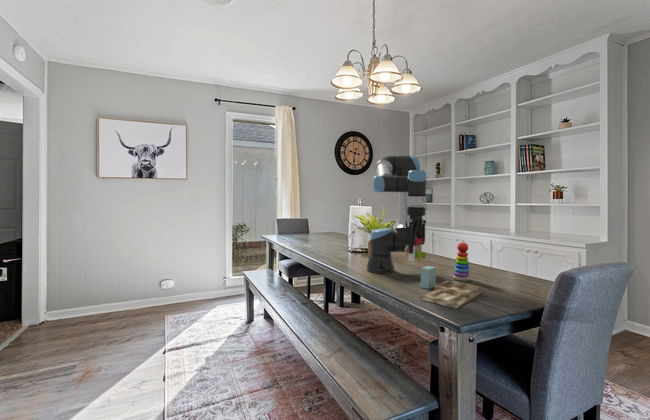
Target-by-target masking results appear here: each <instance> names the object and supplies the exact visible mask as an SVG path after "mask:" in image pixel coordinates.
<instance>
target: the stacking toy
mask: <svg viewBox="0 0 650 420" xmlns="http://www.w3.org/2000/svg"><path fill="white" fill-rule="evenodd" d="M456 247H457V250H458V251H457V256H456V260H455V265H454V271H453V276H452V278H453V279H454V280H456V281H459V282H467V281H468V282H469V281H470V280H471V276H470V265H469V263H470V262H469V257H468V255H469V253H468V252H467V251H469V245H468V244H467V243H466V242H459V243H458V245H457V246H456Z"/></svg>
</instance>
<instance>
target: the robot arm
mask: <svg viewBox="0 0 650 420" xmlns="http://www.w3.org/2000/svg"><path fill="white" fill-rule="evenodd" d="M374 173H375V174H376V175H375V176H373V191H374V192H375V193H398V225H397V226H396V227H395V230H393V229H392V228H391V227H388V228H387V227H384V228H383V227H382V228H378V229H377V228H376V229H373V230H372V231H371V232H370V239H369V240H370V249H369V251H370V253H369V259H368V260H367V261H368V262H367V265H366V271H368V272H370V273H374V274H391V273H394V272H395V264H394V261H393V258H392V253H405V247H406V246H407V245H408V246H409V256H408V257H407V260H408V262H416V259H418V258H416V259H415V249H416V248H415V246H414V243H415V236H416V237H417V238H418V239H423V241H422V245H419V244H418V245H419V247H420V253H421V252H423V245H425V242H426V223H427V220H426V219H423V217H424V216H426V201H427V198H426V196H427V192H426V191H427V190H426V189H427V172H426V170H424V169H423V170H422V169H421V164H420V159H419V158H418V157H417V156H416V155H409V154H408V155H388V156H385V157H382V158H381V159H379V160H378V161H377V162H376V163H375V165H374Z"/></svg>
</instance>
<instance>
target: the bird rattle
mask: <svg viewBox="0 0 650 420" xmlns="http://www.w3.org/2000/svg"><path fill="white" fill-rule="evenodd" d="M422 241H423V239H418V238H417V237H416V236H415V243H414V246H415V248H416V249H415V260H416V258H418V259H417V261H416V262H420V261H421V260H422V259H423V260H426V256H427V253H426V252H425V251H424V252H423V251H422V252H421V253H420V247H419V245H422V246H423V244H422ZM418 244H419V245H418ZM404 253H405V256H406V257H407V258H408V256H409V246H408V245H407V246H406V247H405V252H404Z"/></svg>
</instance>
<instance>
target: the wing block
mask: <svg viewBox="0 0 650 420" xmlns="http://www.w3.org/2000/svg"><path fill="white" fill-rule="evenodd" d="M436 279H437V266H432V265H431V266H430V265H426V266H423V267H421V268H420V288H421V287H422V288H423V289H426V288H427V290H430V289H432V288H435V286H436V285H437V283H436V282H437V280H436Z"/></svg>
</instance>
